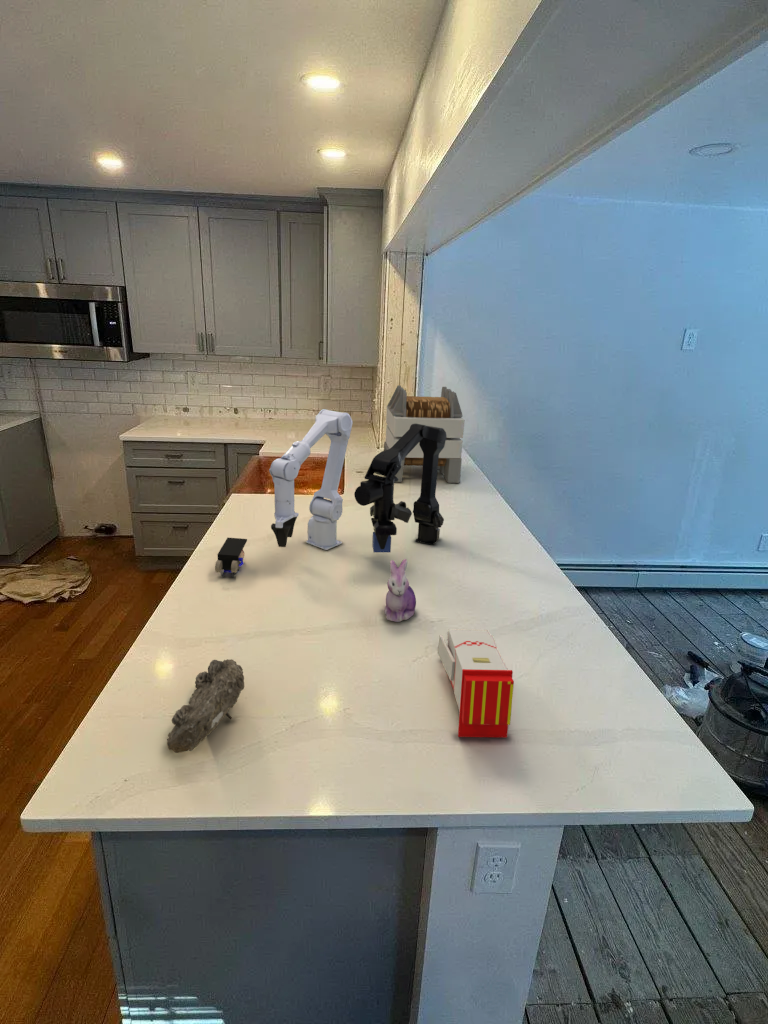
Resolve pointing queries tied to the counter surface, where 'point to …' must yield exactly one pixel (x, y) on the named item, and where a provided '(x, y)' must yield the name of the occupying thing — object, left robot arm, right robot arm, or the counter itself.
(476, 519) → the counter surface
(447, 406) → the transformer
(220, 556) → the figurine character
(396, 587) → the figurine
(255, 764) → the counter surface
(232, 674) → the fossil
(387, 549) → the blue cube
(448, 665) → the toy
